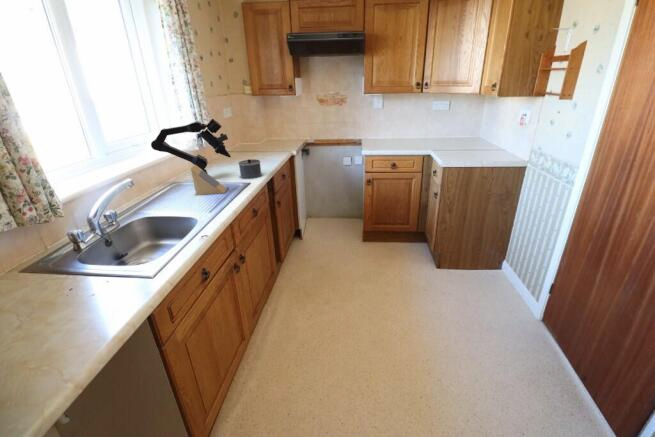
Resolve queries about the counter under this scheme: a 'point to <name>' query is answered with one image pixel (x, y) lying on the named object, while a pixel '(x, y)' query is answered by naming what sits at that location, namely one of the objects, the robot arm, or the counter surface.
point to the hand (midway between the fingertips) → (230, 157)
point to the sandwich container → (205, 182)
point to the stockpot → (250, 168)
